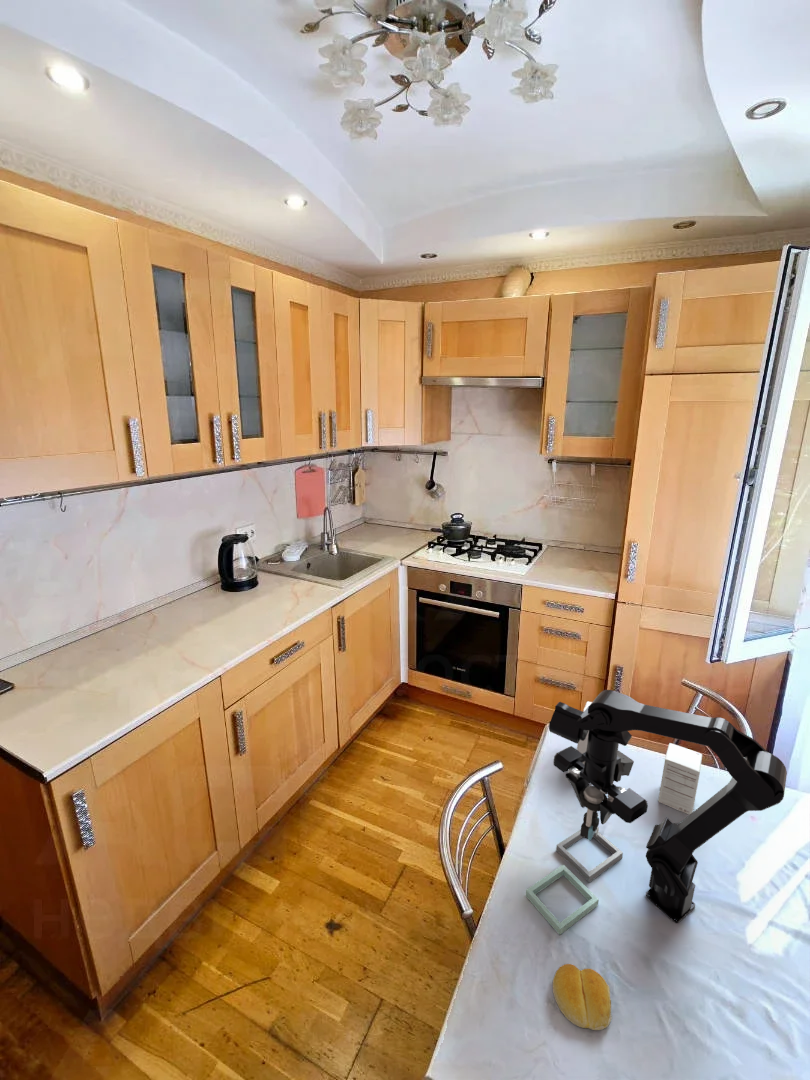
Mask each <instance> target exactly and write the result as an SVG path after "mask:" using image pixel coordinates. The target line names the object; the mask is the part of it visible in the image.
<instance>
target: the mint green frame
mask: <svg viewBox="0 0 810 1080" xmlns="http://www.w3.org/2000/svg"><path fill="white" fill-rule="evenodd" d="M562 877H564V878H565V879H567V881H568V882H569V883H570V884H571V885H572V886H573V887H574V888H575V889H576V890H577V891H579V893H580V894H581V895H582V896H583V897H584V898H585V899H586V900H587V902H585V903H584V904H582V905H581V906H579V907H578V909H576V910H575V911H573V912H572V913H571V914H569V915H568V916H567V917H566V918H564V919H563V920H562V921H561V922H560V921H559V920H558V918H556V916H555V915H554V914H553V913H552V912H551V911H550V910H549V908H547V906H546V905H545V904H544V903H543V902H542V901H541V900H540V898H539V897H538V896H537V894H538V893H540V892H541V891H543V890H544V889H545V888H547V887H549V886H550V885H551V884H552V883H554V882H556V881H557V880H558V879H560V878H562ZM525 897H526V898H527V899H528V900H529V901H530V903H531V904H532V905H533V906H534V907H535V908H536V909H537V911H538V912H539V913H540V914H541V916H543V918H544V919H545V920H546V921H547V923H548V924H549V925H550V926H551V927H552V928H553V929H554V931H556V933H557V934H558V935H559V936H560V935H562V934H564V932H566V931H567V930H568V929H569V928H571V927H572V926H574V925H575V924H576V923H577V922H579V921H580V920H581V919H583V917H585V916H587V914H589V913H590V912H592V911H593V910H594V909H595V908H596V907H598V906H599V898H598V897H597V896H596V895H595V894H594V893H593V892H592V891H591V890H590V889H589V888H588V887H587V886H586V885H585V883H583V881H581V880H580V879H579V878H578V877H577V876H576V875H575V874H574V873H573V872H572V871H571V870H570V869H569V868H568V867H567V866H566V865H565V864H562V865H561V866H559V867H557V868H556V869H554V870H553V871H552V872H550V873H549V874H547V875H546V876H545V877H543V878H541V879H540V880H538V881H537V882H535V883H534V884H532V885H530V887H528V888H527V889H526V890H525Z"/></svg>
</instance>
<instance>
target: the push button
mask: <svg viewBox="0 0 810 1080" xmlns="http://www.w3.org/2000/svg"><path fill="white" fill-rule="evenodd" d="M584 796H585V797H584ZM580 798H581V803H582V804H583V806H585V807H584V808H586V812H584V814H583V817H582V819H583V821H582V824H581V827H580V830H581V833H580V836H582V837H583V838H584V839H586V840H588V841H590V842H591V841H592V838H594V837H593V835H594V833H595V832H596V831H597V832H599V830H600V829H599V825H600V816H599V815H600V814H599V813H598V812H600V803H601V802H603V801H604V800H606V799H607V798H608V795H607V794H604V793H603V792H601V791H600V790H598V789H597V788H596V787H594V786H593V785H589V786H588V787H585V788H583V789H582V790H581V791H580ZM597 832H596V836H597V835H598V833H597Z"/></svg>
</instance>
